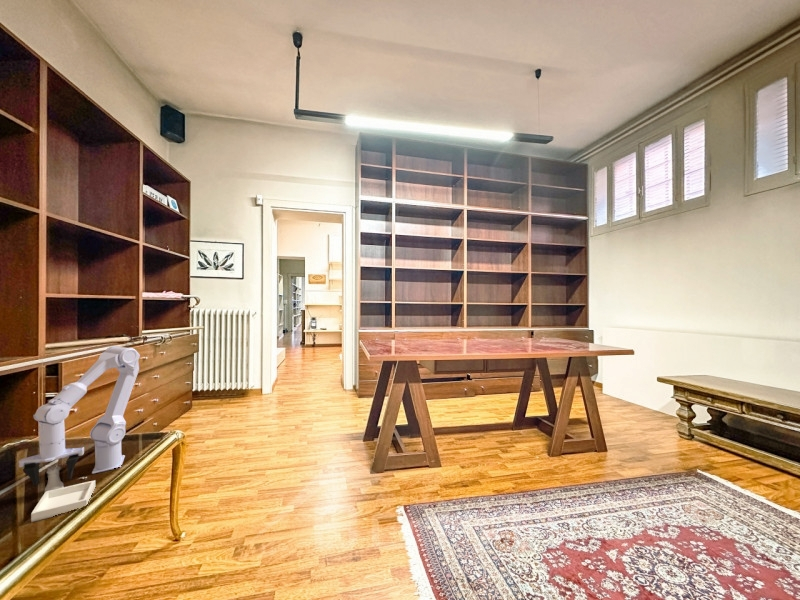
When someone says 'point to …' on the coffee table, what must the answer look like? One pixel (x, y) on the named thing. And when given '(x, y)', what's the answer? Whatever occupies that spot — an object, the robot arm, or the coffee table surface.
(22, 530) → the coffee table surface
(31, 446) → the coffee table surface
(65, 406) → the robot arm
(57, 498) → the tray
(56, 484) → the rook chess piece
